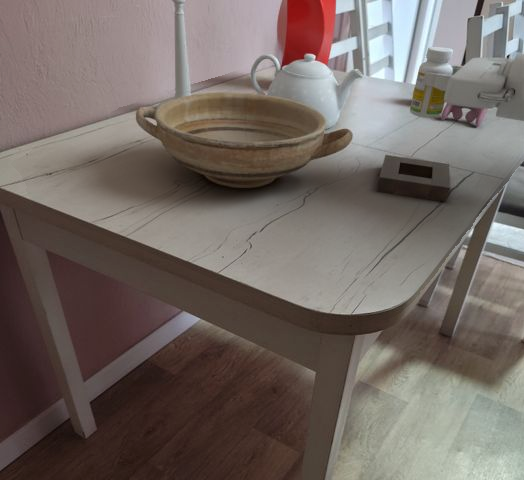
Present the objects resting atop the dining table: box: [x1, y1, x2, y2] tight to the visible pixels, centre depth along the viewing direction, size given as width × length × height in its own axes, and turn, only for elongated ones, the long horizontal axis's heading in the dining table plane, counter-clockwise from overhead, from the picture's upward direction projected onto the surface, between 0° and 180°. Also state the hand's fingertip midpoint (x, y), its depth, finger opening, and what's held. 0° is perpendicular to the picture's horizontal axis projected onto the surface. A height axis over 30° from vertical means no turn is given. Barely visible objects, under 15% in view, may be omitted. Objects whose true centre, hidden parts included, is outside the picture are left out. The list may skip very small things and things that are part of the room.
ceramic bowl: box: [135, 91, 354, 189], centre depth 84 cm, size 37×29×10 cm
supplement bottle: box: [409, 46, 454, 119], centre depth 81 cm, size 5×5×10 cm
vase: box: [276, 0, 337, 70], centre depth 127 cm, size 15×14×28 cm
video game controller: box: [440, 103, 488, 128], centre depth 119 cm, size 10×5×7 cm, turn 58°
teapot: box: [250, 53, 364, 130], centre depth 109 cm, size 19×18×14 cm
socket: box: [376, 154, 451, 203], centre depth 87 cm, size 12×12×2 cm
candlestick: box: [155, 0, 192, 110], centre depth 104 cm, size 13×13×30 cm
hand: (429, 74), depth 81 cm, fingers closed on supplement bottle, 5 cm apart
